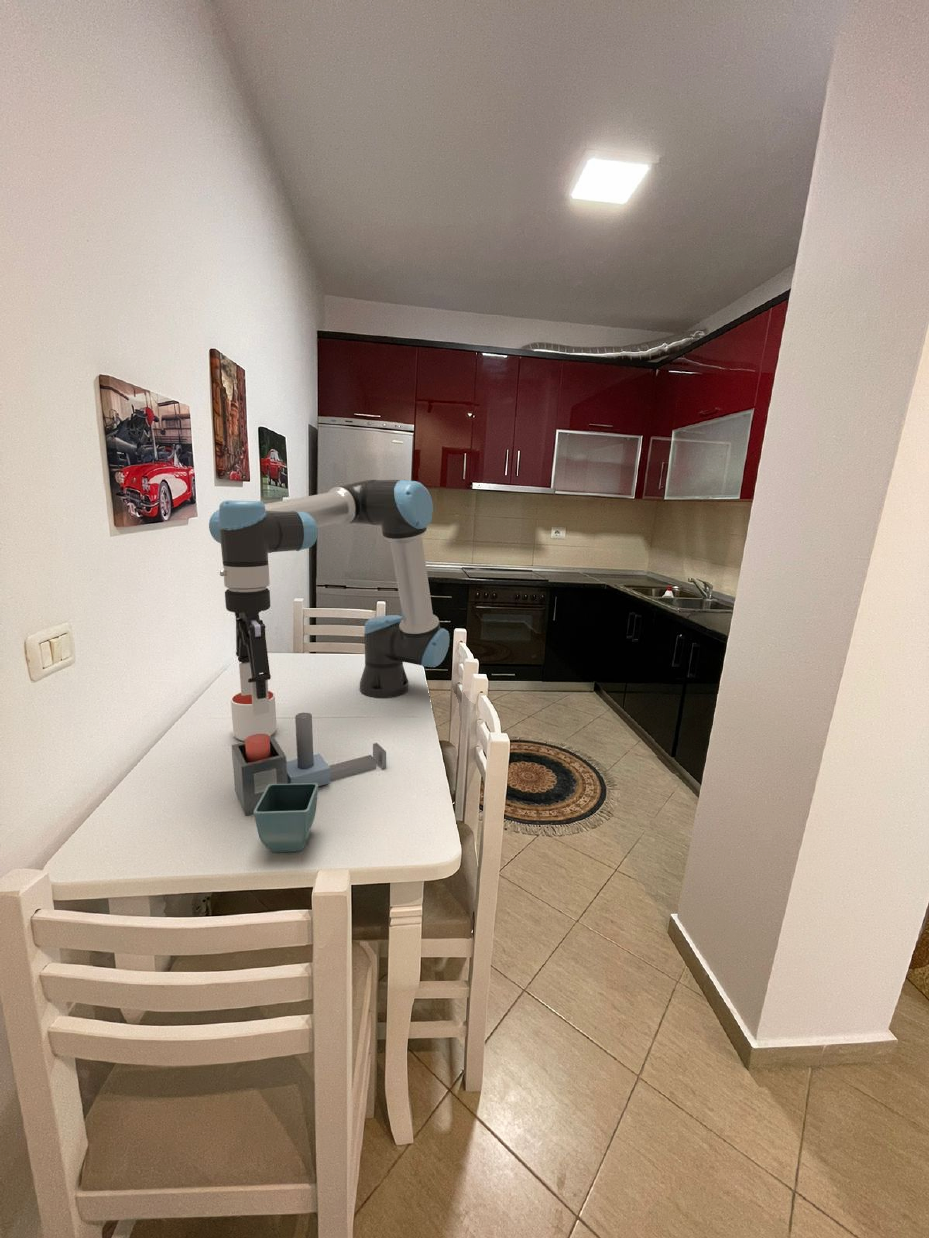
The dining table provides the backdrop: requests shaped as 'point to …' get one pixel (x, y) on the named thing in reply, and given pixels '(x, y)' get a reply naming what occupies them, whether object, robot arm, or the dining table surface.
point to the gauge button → (257, 747)
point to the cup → (252, 717)
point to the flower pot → (286, 815)
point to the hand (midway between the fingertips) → (254, 703)
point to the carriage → (306, 756)
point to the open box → (257, 774)
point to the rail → (359, 764)
